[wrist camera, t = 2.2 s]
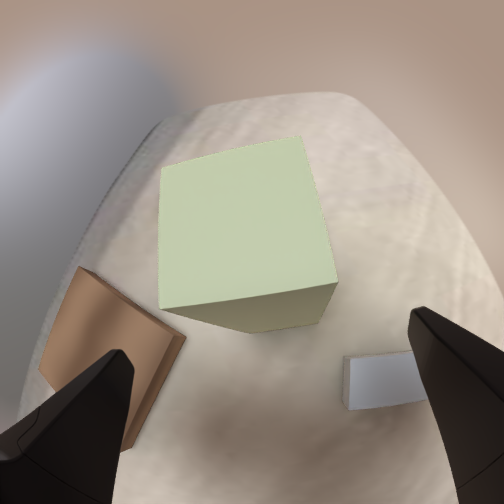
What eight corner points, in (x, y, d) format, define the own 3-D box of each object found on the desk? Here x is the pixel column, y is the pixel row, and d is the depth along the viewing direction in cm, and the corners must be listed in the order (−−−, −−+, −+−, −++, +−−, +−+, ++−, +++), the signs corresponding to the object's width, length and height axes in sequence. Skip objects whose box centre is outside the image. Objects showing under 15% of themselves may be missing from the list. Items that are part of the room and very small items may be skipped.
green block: (306, 258, 19) (300, 135, 8) (317, 323, 17) (338, 281, 6) (242, 269, 20) (161, 168, 8) (250, 333, 18) (159, 308, 7)
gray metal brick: (425, 348, 15) (444, 347, 13) (424, 390, 14) (443, 396, 12) (343, 356, 16) (350, 358, 14) (341, 400, 16) (348, 410, 13)
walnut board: (186, 337, 19) (173, 335, 17) (131, 447, 16) (117, 453, 14) (93, 272, 22) (78, 266, 20) (52, 370, 20) (38, 369, 18)
